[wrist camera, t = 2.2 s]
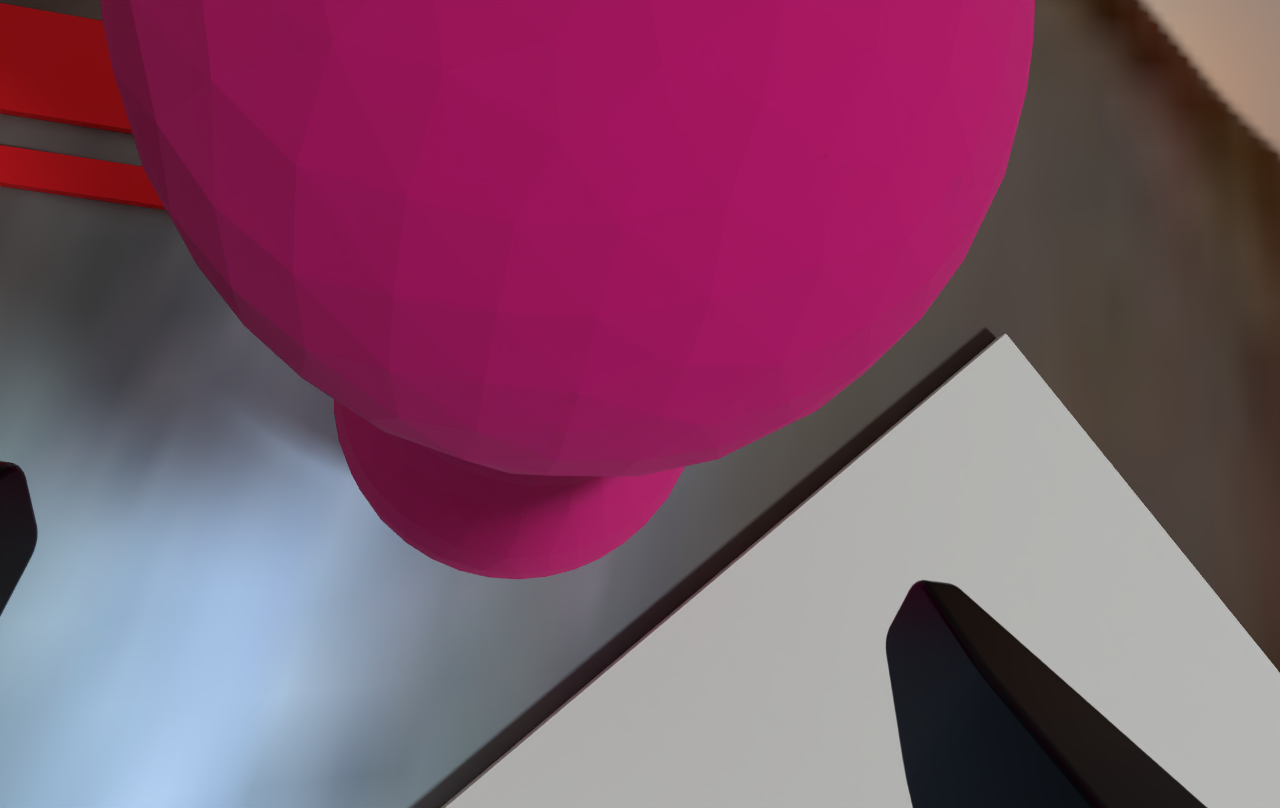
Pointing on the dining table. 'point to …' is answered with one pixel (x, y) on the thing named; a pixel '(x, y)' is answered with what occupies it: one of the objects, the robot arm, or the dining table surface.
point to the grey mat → (867, 604)
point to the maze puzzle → (64, 105)
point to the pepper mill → (569, 225)
